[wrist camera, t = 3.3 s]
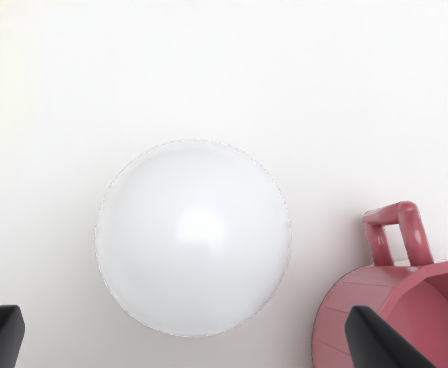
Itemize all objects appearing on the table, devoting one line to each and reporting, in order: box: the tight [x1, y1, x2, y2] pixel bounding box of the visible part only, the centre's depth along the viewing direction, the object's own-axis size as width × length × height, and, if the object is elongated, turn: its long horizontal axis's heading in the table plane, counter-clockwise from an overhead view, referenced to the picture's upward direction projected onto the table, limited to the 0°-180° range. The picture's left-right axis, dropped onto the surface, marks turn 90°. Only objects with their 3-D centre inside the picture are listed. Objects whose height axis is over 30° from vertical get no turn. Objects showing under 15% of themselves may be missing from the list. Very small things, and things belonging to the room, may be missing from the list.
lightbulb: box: [95, 139, 291, 337], centre depth 14 cm, size 6×6×11 cm
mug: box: [312, 201, 448, 368], centre depth 17 cm, size 13×10×6 cm
